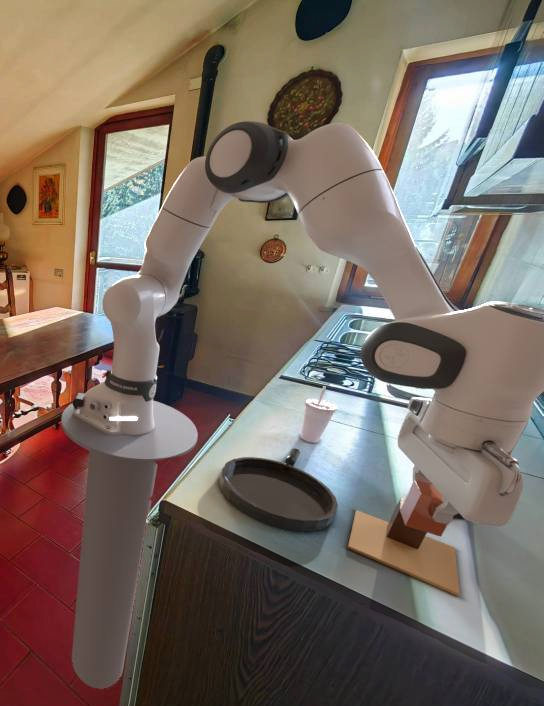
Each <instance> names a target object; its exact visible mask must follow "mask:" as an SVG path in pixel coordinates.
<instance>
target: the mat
mask: <svg viewBox="0 0 544 706" xmlns="http://www.w3.org/2000/svg"><path fill="white" fill-rule="evenodd" d="M388 523H389V521H386V520H383V519H381V518H379V517H376V516H373V515H371V514H368V513H365V512H362V511H361V510H357V509H356V510H355V513H354V517H353V521H352V526H351V530H350V534H349V539H348V543H347V549H348V550H351V551H353V552H355V553H357V554H360V555H362V556H364V557H367V558H369V559H371V560H373V561H376V562H378V563H380V564H383V565H385V566H387V567H390V568H393V569H395V570H397V571H399V572H401V573H404V574H405V575H406V574H407V575H408V576H411V577H413V578H415V579H418V580H419V581H422V582H425V583H427V584H429V585H432V586H434V587H435V588H438V589H440V590H442V591H446V592H447V593H450V594H452V595H454V596H456V597H459V596H460V584H459V575H458V574H459V573H458V564H457V555H456V548H455V547H454V546H452V545H449V544H446V543H444V542H442V541H439V540H436V539H434V538H431V537H428V536H425V537H424V539H423V541H422V543H421V545H420V547H419V549H416V548H413V547H411V546H408V545H406V544H403V543H401V542H398V541H396V540H393V539H390V538H388V537H386V536H387V527H388Z"/></svg>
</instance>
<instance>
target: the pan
mask: <svg viewBox="0 0 544 706" xmlns="http://www.w3.org/2000/svg"><path fill="white" fill-rule="evenodd" d="M284 466H287V465H285V463H284V462H282V461H279V460H274V459H271V458H264V457H256V456H242V457H237V458H233V459H230V460H228V461H226V462H225V463H224V464H223V466H222V467H221V471H220V474H219V483H218V484H219V488H220V491H221V492H222V494H223V496H224V497H225V498H226V499H227V501H229V502H230V503H231V504H232V505H233V506H234V507H235V508H237V509H238V510H240V511H241V512H242V513H244V514H245V515H248V517H251V518H253V519H255V520H257V521H259V522H261V523H264V524H266V525H269V526H272V527H275V528H278V529H282V530H286V531H293V532H301V533H303V532H305V533H306V532H316V531H321V530H324V529H325V528H328V527H329V526H330V525H331V524H332V522H333V521H334V518H335V516H336V514H337V510H338V507H339V504H338V501H337V498H336V496H335V494H334V493H333V492H332V491H331V489H330V488H329V487H328V486H327V485H325V484H324V483H323V482H322V481H320V480H319V479H318V478H317V477H315V476H313V475H312V474H310V473H308V472H306V471H305V470H302V469H300V468H298V467H296V466H287V467H289V471H285V470H284V469H283V467H284Z"/></svg>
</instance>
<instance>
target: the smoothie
mask: <svg viewBox="0 0 544 706" xmlns="http://www.w3.org/2000/svg"><path fill="white" fill-rule="evenodd" d="M326 388H327V386H322V389H321V392H320V395H319V397H318V399H317V398H308V399H306V400H305V403H304V407H305V408H304V412H303V414H304V415H303V420H302V426H301V431H300V432H301V433H300V439H302V441H305V442H308V443H310V444H317V443H319V441H320V440H321V438H322V435H323V434H324V432H325V430H326V428H327V426H328V424H329V423H330V421H331V419H332V417H333V416H334V414H336V413H337V410H338V406H337V405H335V404H334V403H332V402H329V401H327V400H324V399H323V397H324V394H325V391H326Z"/></svg>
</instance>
